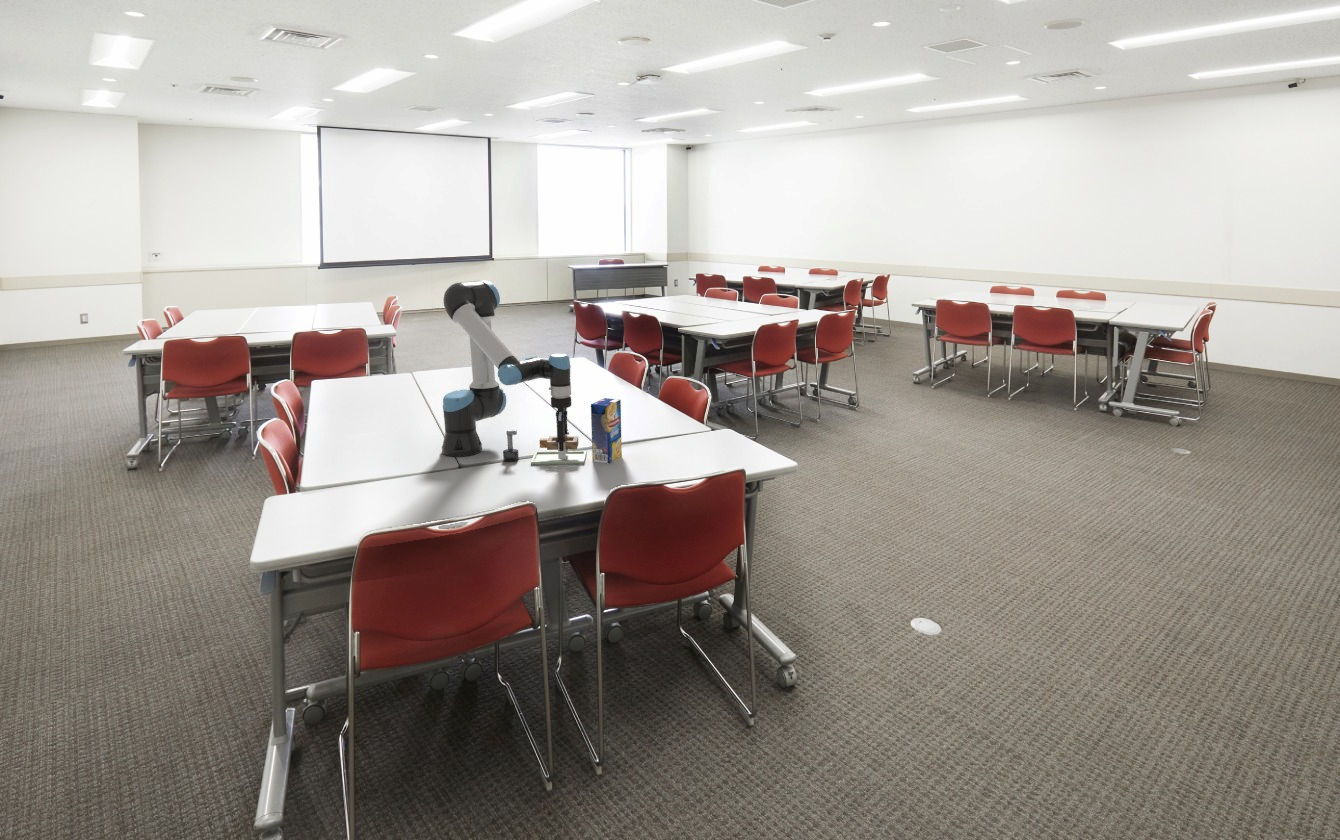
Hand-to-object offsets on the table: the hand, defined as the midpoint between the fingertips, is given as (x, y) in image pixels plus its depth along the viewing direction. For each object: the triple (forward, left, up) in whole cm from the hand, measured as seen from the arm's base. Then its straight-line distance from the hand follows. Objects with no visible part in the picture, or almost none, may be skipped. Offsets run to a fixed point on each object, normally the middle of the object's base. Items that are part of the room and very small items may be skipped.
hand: (563, 455), depth 281 cm
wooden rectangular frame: (-1, -1, +3) cm, 4 cm away
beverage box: (+12, +11, -2) cm, 17 cm away
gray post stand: (-15, -12, -2) cm, 20 cm away
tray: (-1, -1, -2) cm, 2 cm away
